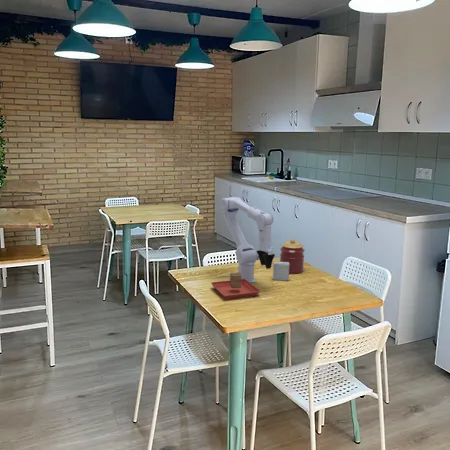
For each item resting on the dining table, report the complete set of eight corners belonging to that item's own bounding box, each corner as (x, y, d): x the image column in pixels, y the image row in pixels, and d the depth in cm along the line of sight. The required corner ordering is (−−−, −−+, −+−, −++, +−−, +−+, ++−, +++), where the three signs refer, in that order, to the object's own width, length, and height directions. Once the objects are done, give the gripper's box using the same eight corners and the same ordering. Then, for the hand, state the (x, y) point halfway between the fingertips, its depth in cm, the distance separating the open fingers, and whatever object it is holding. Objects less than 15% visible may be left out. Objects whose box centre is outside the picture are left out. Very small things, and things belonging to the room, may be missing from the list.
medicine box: (288, 278, 233) (289, 262, 231) (288, 280, 229) (289, 264, 227) (273, 277, 234) (273, 261, 232) (273, 280, 229) (273, 263, 228)
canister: (277, 272, 242) (278, 240, 238) (281, 265, 254) (283, 235, 250) (301, 275, 238) (303, 242, 235) (304, 268, 250) (306, 237, 247)
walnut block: (230, 285, 213) (230, 272, 211) (239, 284, 213) (239, 272, 212) (231, 288, 208) (231, 275, 207) (241, 287, 209) (241, 275, 208)
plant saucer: (260, 297, 207) (261, 290, 206) (224, 302, 200) (224, 295, 199) (244, 285, 223) (244, 278, 222) (210, 289, 216) (210, 282, 216)
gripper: (278, 240, 208) (279, 269, 210) (268, 235, 222) (268, 262, 224) (263, 241, 206) (264, 270, 208) (254, 236, 220) (255, 264, 222)
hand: (265, 266), depth 216 cm, fingers open, 7 cm apart
